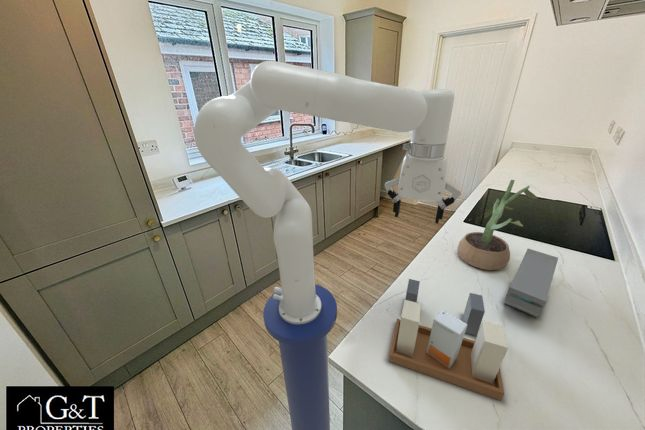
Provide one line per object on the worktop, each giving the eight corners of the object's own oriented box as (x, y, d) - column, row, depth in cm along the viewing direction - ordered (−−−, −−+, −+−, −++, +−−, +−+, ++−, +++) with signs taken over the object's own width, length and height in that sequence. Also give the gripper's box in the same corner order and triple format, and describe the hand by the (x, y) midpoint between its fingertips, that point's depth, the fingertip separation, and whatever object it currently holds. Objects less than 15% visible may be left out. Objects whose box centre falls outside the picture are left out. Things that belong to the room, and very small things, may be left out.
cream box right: (472, 377, 59) (485, 341, 54) (470, 354, 64) (482, 319, 59) (492, 384, 58) (508, 347, 52) (489, 360, 63) (503, 325, 57)
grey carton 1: (403, 315, 76) (406, 292, 72) (405, 301, 81) (409, 278, 77) (413, 318, 75) (417, 294, 71) (415, 303, 80) (419, 281, 76)
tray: (388, 361, 64) (389, 354, 63) (396, 325, 73) (397, 318, 72) (500, 400, 55) (504, 393, 54) (493, 354, 65) (495, 347, 64)
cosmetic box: (425, 353, 65) (433, 318, 60) (433, 342, 67) (441, 308, 62) (449, 370, 61) (460, 334, 55) (457, 358, 63) (468, 323, 58)
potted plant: (496, 280, 88) (524, 199, 75) (447, 256, 102) (463, 183, 88) (525, 257, 100) (554, 182, 86) (477, 237, 113) (496, 170, 100)
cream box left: (395, 351, 65) (401, 317, 60) (399, 332, 70) (404, 299, 65) (412, 357, 64) (419, 322, 59) (415, 337, 69) (421, 303, 64)
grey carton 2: (464, 332, 70) (471, 308, 66) (462, 316, 75) (469, 292, 71) (476, 336, 69) (484, 311, 65) (474, 319, 74) (482, 295, 70)
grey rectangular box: (531, 331, 70) (546, 301, 65) (498, 316, 75) (509, 287, 70) (546, 284, 86) (558, 257, 81) (517, 274, 91) (527, 248, 86)
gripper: (384, 151, 59) (379, 218, 66) (471, 156, 52) (454, 231, 60) (390, 144, 65) (385, 207, 72) (468, 149, 58) (453, 217, 66)
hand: (416, 218), depth 66 cm, fingers open, 9 cm apart
